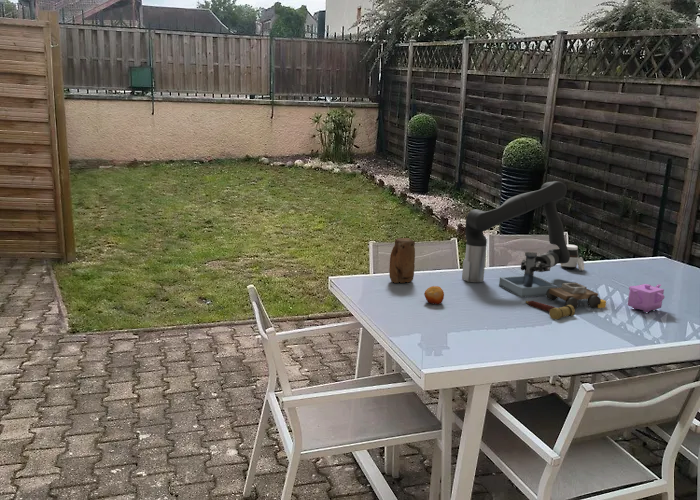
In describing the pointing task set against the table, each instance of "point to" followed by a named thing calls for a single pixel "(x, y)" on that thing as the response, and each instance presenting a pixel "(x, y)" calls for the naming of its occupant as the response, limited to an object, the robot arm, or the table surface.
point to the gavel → (554, 309)
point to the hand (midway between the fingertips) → (526, 269)
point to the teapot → (645, 297)
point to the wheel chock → (602, 304)
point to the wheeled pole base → (574, 294)
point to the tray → (517, 287)
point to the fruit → (434, 295)
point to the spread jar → (573, 259)
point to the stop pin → (529, 268)
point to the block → (402, 261)
